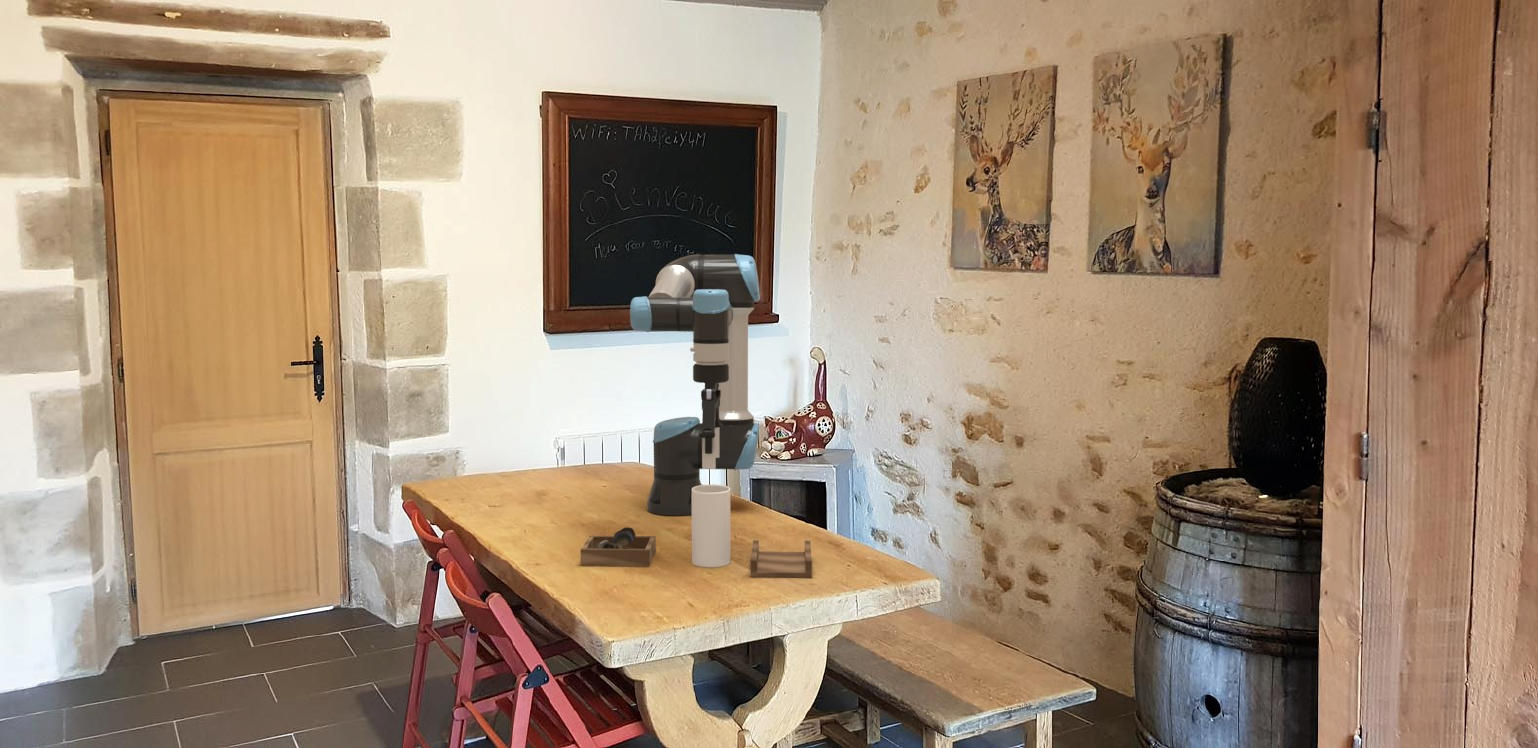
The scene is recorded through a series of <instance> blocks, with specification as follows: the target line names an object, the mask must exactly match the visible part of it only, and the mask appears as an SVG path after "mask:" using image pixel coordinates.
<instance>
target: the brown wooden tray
mask: <svg viewBox="0 0 1538 748" xmlns="http://www.w3.org/2000/svg"><path fill="white" fill-rule="evenodd" d="M759 542H760V541H759V539H753V540H752V547H751V557H750V578H776V579H777V578H778V579H779V578H787V579H790V578H797V579H798V578H799V579H803V578H804V579H805V578H806V579H811V578H812V570H813V568H812V565H813V562H812V561H813V560H812V544H811V540H804V551H771V550H770V551H761V550H760V545H759V544H760V543H759Z"/></svg>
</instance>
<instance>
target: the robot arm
mask: <svg viewBox="0 0 1538 748" xmlns="http://www.w3.org/2000/svg"><path fill="white" fill-rule="evenodd" d="M756 263H757V262H756V261H755V259H754V257H753V256H751V255H748V254H747V255H746V254H738V253H734V254H690V255H686V256H683V257H679V258H677V259H675V260H673V261H670V262H669V263H668V264H666V265H665V266H664V267H662V268H661V269H660V271H659V273H658V274H657V276H656V279H655V286H654V288H653V289H652V291H651V292H650V294H649V296H646V295H645V296H644V295H643V296H636V297H633V298H632V299H631V301H630V309H629V319H630V327H631V328H632V330H634V331H636V332H646V333H649V332H656V333H657V332H678V333H679V332H681V333H682V332H686V333H687V332H689V333H692V335H693V336H692V337H693V340H692V343H693V344H692V345H693V346H690V348H689V352H692V353H693V355H692V359H693V362H695V363H694V364H693V365H692V380H693V382H695V383H698V384H699V383H701V384H702V383H704V388H703V389H701V391H700V397H701V410H702V415H701V416H702V421H701V420H700V418H699V417H697V416H682V417H681V416H680V417H676V418H675V417H674V418H669V419H665V420H662V421H660V422H658V423H657V424H655V426H654V429H653V439H652V443H653V482H652V484H651V488H650V492H649V494H648V497H647V502H646V503H647V504H646V507H647V509H646V510H647V511H648V512H650V513H652V514H655V515H661V516H689V515H691V516H692V488H693V487H695V486H699V485H702V482H701V478H700V473H701V472H700V470H734V471H738V470H739V471H740V470H750V469H751V468H752V467H754V464H755V462H756V461H755V460H756V455H757V449H758V442H759V434H760V424H758V423H757V422H755V421H754V420H755V419H754V417H755V416H754V415H753V414H752V413H751V412H750V411H749V408H748V407H749V395H748V394H749V384H748V383H749V315H750V314H751V313H752V312H753V310H755V303H757V302H759V301H760V300H761V295H760V282H759V276H758V275H759V274H758V270H757V264H756ZM754 422H755V423H754Z"/></svg>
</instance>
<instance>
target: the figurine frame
mask: <svg viewBox="0 0 1538 748" xmlns="http://www.w3.org/2000/svg"><path fill="white" fill-rule="evenodd" d="M613 537H614V535H589V537H588V538H587V539H586V541H585V542H584V544H583V545H582V547H581V548H580V566H581V565H600V566H599V567H650V566H651V564H652V562H653V559H654V557H655V555H656V552H657V548H656V547H657V545H656V543H657V542H656V541H657V540H656V539H657V538H656V537H657V536H655V535H635V538H634V541H632V542H631V543H628V544H627V547H626V548H625V549H598V544H600V543H601V542H602V541H604V540H608V541H609V542H610V543H612V540H613ZM624 546H625V545H624ZM624 546H623V547H624ZM654 554H655V555H654ZM601 565H603V566H601ZM605 565H606V566H605Z"/></svg>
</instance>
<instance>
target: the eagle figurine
mask: <svg viewBox="0 0 1538 748" xmlns="http://www.w3.org/2000/svg"><path fill="white" fill-rule="evenodd" d="M613 536H614V537H613V540H612V543H610V542H609V541H608V540H604V541H602V542H601V543H600V544H598V549H625V548H626V547H627V544H628V543H631V542H632V541H634V538H635V536H637V535H636V533H635V531H634V529H633V528H632V527H623V528H622V529H619V530H618V531H616V532H615V533H614V534H613ZM624 545H625V546H624ZM623 546H624V547H623Z"/></svg>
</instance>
